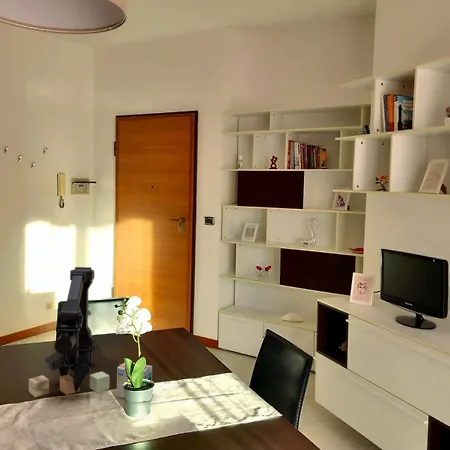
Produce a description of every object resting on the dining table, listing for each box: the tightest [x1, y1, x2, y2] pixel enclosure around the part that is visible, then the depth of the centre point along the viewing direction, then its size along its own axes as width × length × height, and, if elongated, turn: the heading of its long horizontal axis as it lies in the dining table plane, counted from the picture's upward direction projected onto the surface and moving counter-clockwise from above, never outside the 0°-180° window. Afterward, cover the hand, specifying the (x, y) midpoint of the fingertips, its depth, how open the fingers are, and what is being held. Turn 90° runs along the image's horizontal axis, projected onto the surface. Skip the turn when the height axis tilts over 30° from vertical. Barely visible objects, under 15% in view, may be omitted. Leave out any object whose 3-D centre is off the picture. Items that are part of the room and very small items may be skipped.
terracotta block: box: [59, 373, 81, 396], centre depth 187 cm, size 5×5×5 cm
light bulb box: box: [116, 362, 153, 399], centre depth 184 cm, size 11×7×11 cm, turn 71°
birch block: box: [28, 375, 50, 398], centre depth 184 cm, size 5×5×5 cm
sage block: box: [89, 371, 111, 393], centre depth 189 cm, size 5×5×5 cm
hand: (69, 386), depth 187 cm, fingers open, 9 cm apart
